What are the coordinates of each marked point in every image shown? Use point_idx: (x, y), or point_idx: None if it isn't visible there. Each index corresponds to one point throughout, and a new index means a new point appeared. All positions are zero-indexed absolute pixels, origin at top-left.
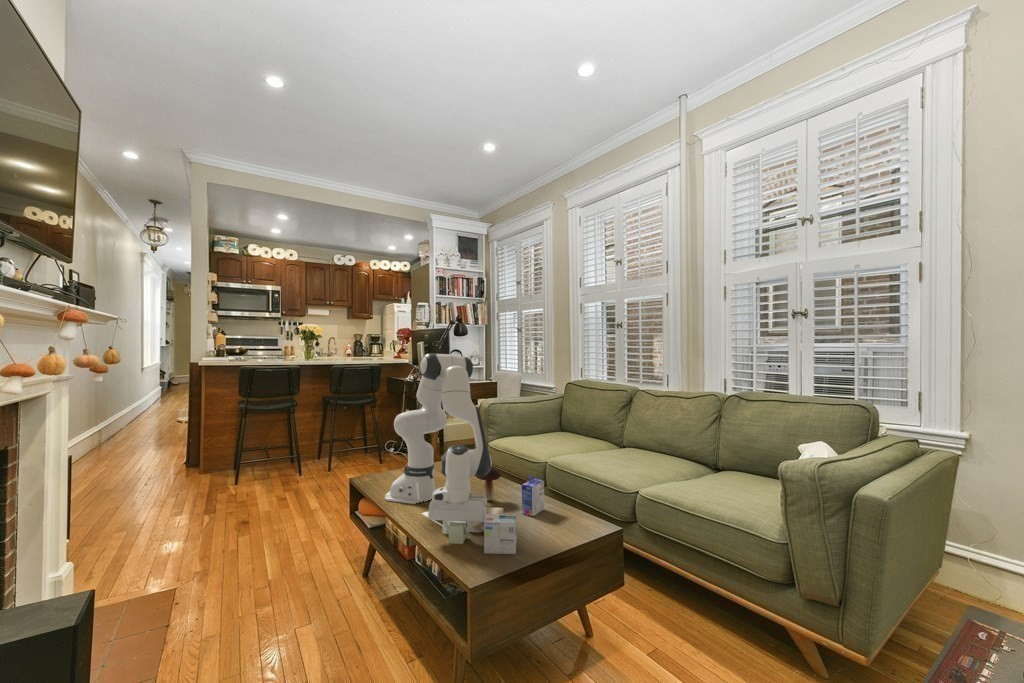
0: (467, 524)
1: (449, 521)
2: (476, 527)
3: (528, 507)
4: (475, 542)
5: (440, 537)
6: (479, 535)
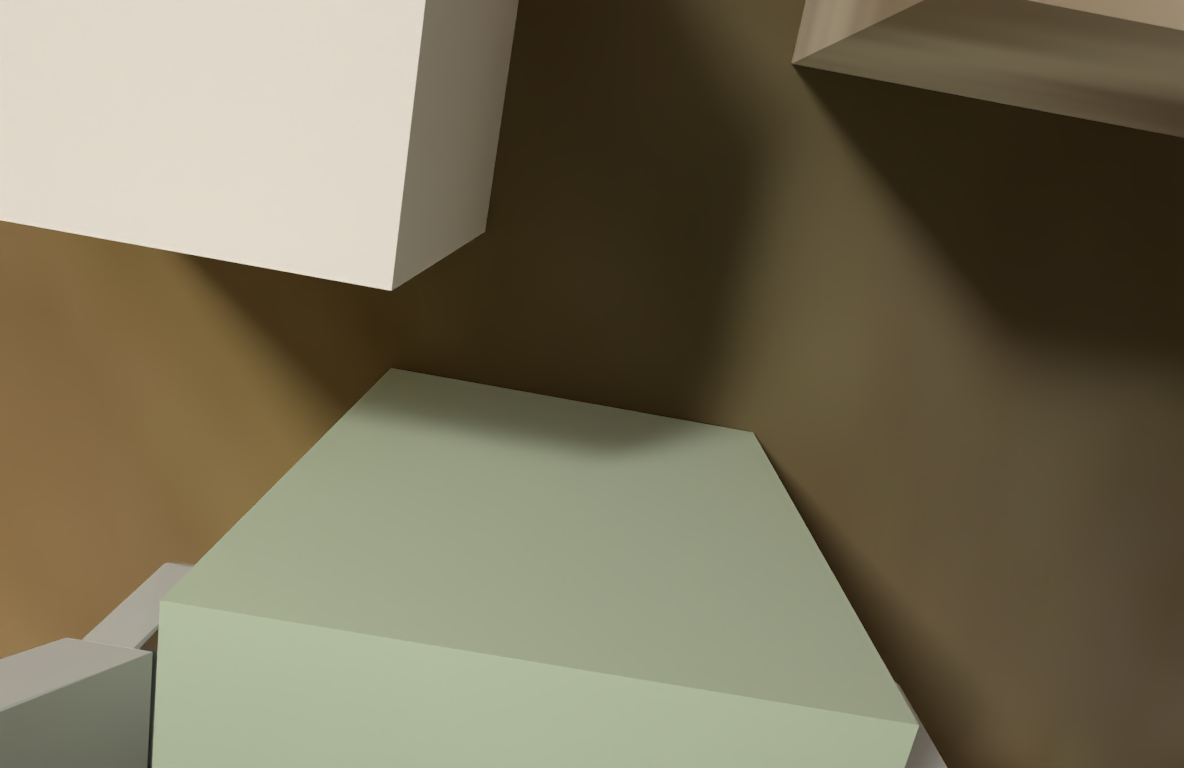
0: (882, 36)
1: (71, 217)
2: (1166, 107)
3: None
4: (966, 683)
5: (94, 386)
6: (1123, 332)
